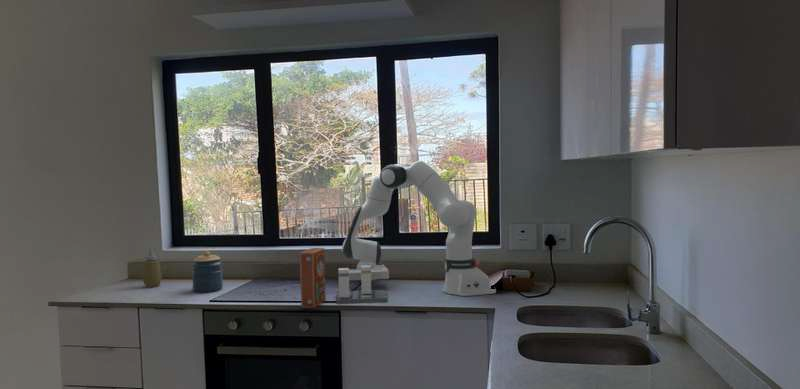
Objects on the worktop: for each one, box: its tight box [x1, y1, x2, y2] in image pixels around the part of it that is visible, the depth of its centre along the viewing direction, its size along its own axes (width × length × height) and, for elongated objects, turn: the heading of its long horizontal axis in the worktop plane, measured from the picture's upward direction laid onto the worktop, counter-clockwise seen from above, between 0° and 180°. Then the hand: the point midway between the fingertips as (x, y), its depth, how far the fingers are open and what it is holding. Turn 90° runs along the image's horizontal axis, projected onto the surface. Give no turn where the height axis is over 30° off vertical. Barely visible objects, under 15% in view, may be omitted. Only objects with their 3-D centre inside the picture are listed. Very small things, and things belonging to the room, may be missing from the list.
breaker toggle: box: [360, 265, 372, 294], centre depth 201 cm, size 4×4×11 cm
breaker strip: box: [335, 267, 388, 305], centre depth 199 cm, size 20×14×13 cm
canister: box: [191, 250, 224, 293], centre depth 221 cm, size 13×13×18 cm
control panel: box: [299, 247, 327, 309], centre depth 192 cm, size 21×7×15 cm
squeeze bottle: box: [142, 248, 163, 288], centre depth 230 cm, size 8×8×18 cm
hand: (366, 278), depth 209 cm, fingers closed
